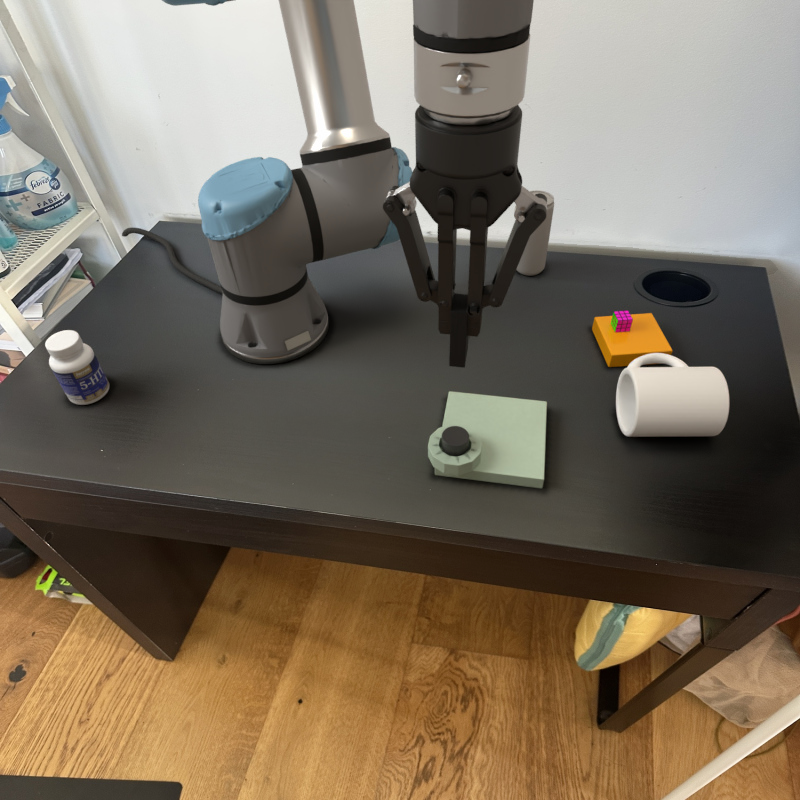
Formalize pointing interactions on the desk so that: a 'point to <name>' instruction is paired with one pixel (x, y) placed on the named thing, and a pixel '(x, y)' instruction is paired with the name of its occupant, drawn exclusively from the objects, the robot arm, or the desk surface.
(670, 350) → the orange square tile
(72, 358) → the pill bottle
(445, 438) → the tare button
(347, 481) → the desk surface
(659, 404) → the mug
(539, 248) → the beverage can
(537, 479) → the scale
